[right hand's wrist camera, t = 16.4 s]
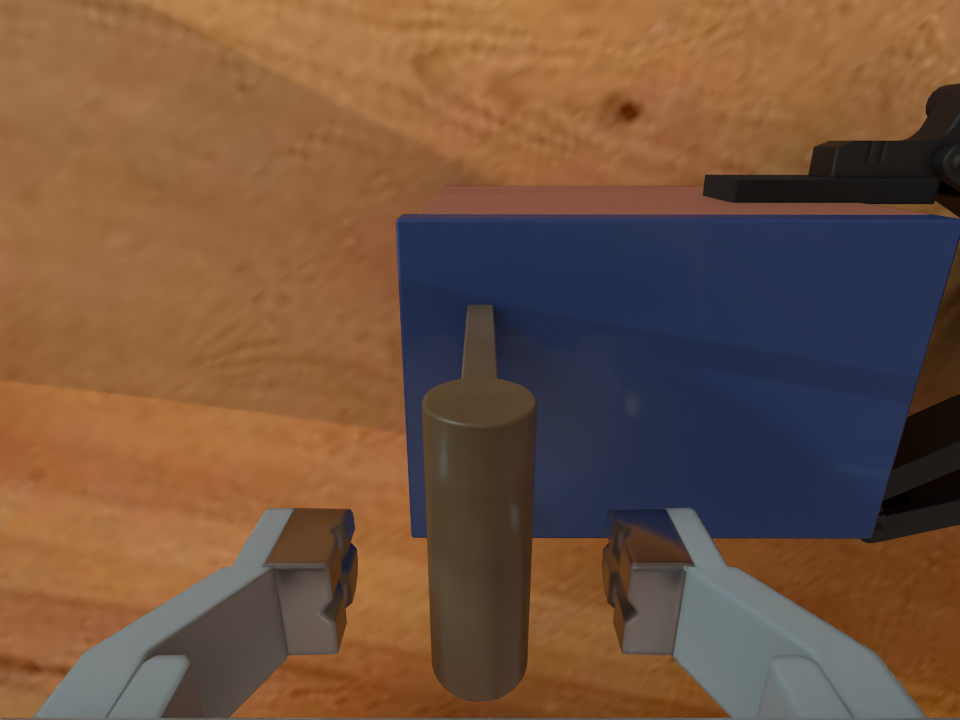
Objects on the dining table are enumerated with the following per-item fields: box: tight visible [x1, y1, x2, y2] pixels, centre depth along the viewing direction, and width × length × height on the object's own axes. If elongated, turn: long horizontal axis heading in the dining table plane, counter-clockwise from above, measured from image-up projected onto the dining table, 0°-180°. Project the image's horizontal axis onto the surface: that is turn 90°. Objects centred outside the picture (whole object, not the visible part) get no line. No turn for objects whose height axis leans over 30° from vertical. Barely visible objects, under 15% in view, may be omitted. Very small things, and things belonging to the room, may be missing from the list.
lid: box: [396, 214, 960, 701], centre depth 13 cm, size 14×10×8 cm
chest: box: [419, 186, 929, 215], centre depth 22 cm, size 14×10×11 cm
